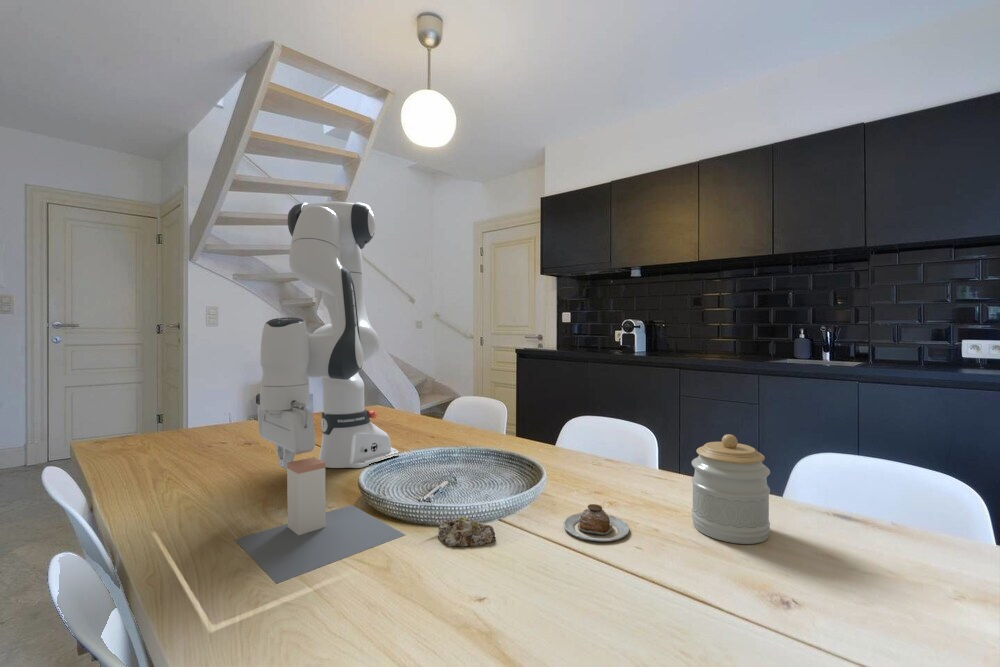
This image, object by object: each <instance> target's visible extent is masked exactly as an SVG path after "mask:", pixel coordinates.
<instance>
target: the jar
mask: <svg viewBox="0 0 1000 667" xmlns="http://www.w3.org/2000/svg"><path fill="white" fill-rule="evenodd" d="M738 441H739V440H738V439H737V437H736V436H735V435H734V434H729V433H728V434H724V435H723V436H722V438H721V441H711V442H706V443H705V444H703V445H702V446H700V447H698V448H697V449H696V453H697V454H698V456H697V457H695V458H693V459H692V460H691V466H692V467H693V468H694V475H693V476H692V477H691V483H692V509H691V520H692V525H693V528H695V529H696V530H697V531H698V532H700V533H701V534H702V535H706V536H707V537H709V538H712V539H715V540H718V541H721V542H722V541H723V542H726V543H732V544H738V545H739V544H741V545H754V544H759V543H762V542H766V540H767V539H769V534H770V531H771V528H770V526H771V522H770V493H771V488H770V487H769V485H768V482H767V478H768V476H769V475H770V474H771V471H770V469H769V467H767V466H766V465H765V464H764V463H763V462H764V461H765V460H766V458H765V455H763V454H762V453H761V452H759V451H758V450H757V449H756V448H754V447H753V446H750V445H748V444H743V443H738Z"/></svg>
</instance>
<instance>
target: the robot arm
mask: <svg viewBox="0 0 1000 667" xmlns="http://www.w3.org/2000/svg"><path fill="white" fill-rule="evenodd" d="M376 224H377V222H376V218H375V215H374V212H373V209H372V208H371V207H370V206H369V205H368V204H366V203H362V202H358V201H356V202H348V201H335V200H333V201H331V200H330V201H327V202H326V201H324V202H322V201H321V202H313V203H308V202H303V203H302V202H301V203H297V204H294V205H293V206H292V207H291V209H290V210H289V211H288V213H287V226H288V227H287V228H288V232H289V234H290V236H291V242H290V248H289V258H288V259H289V267H290V270H291V272H292V273H293V275H294V276H295V277H296V279H298V280H299V281H300V282H301V283H304V284H305V285H307V286H309V287H311V288H312V289H316V290H318V291H321V292H322V294H321V295H322V296H321V298H322V299H321V300H322V303H323V305H324V306H325V307H326V310H327V311H328V314H329V318H330V323H328V324H324V325H322V326H320V327H318V328H317V329H315V330H314V331H313V333H308V330H307V324H306V321H305V319H303V318H300V317H276V318H272V319H269V320H268V321H266V322H265V323H264V325H263V328H262V333H261V341H260V342H261V343H260V367H261V369H262V378H261V381H260V390H259V391H258V392H257V393H256V394H255V395H254V404H255V405H256V406H257V424H258V432H259V436H260V439H261V438H262V439H264V440H266V441H268V442H270V443H271V444H274V445H275V451H276V455H277V458H278V466H279V467H281V468H282V469H284V470H287V463H288V462H293V461H294V458H295V456H296V455H299V454H300V455H301V454H306V453H311V452H313V451H314V449H315V446H316V436H315V434H316V433H315V423H314V422H315V421H314V417H313V414H312V412H310V411H309V410H308V409H307V407H309V406H310V380H309V379H311V378H312V379H319V378H320V379H321V382H322V403H323V404H322V405H323V406H322V407H323V408H322V412H321V422H320V425H321V433H322V435H321V436H322V438H321V444H320V451H319V457H318V459H319V460H321V461H323V462H325V468H327V469H346V468H348V469H349V468H351V469H361V468H364V467H367V466H370V465H369V464H371V463H372V462H374V461H376V460H378V459H380V458H383V457H385V456H388V455H391V454H394V453H398V452H399V450H397V449H396V448H394V447H392V442H391V439H390V436H389V434H388V433H387V432H386V431H384V430H383V429H381V428H380V427H378V426H377V425H376V424H374V423H373V422H372V421H371V419H376V418H377V417H378V412H376V411H375V410H367V409H365V383H364V380H363V379H362V377H361V375H360V374H359V371H361V369H362V368H363V364H364V362H365V361H368V360H371V359H372V358H373V357H375V355H376V354H377V352H378V350H379V347H380V338H379V335H378V333H377V331H376V330H375V329H374V328H373V327H372V324H371V322H370V318H369V317H368V313H367V310H366V309H367V307H366V303H365V292H364V290H365V288H364V287H365V286H364V262H363V255H362V254H363V253H362V249H364V248H365V247H366V245H367V244H369V243H370V242H371V241H372V239H373V237H374V235H375V231H376ZM371 465H372V464H371Z"/></svg>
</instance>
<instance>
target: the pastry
mask: <svg viewBox="0 0 1000 667" xmlns="http://www.w3.org/2000/svg"><path fill="white" fill-rule="evenodd" d="M576 526H577V529H579V531H581V532H584V533H587V534H592V535H598V536H605V535H608V534H610V532H611V531H612V529H613V526H614V528H615V529H616V531H617V532H616V534H614V536H610V537H590V536H587V535H584V534H581V533H579V532H577V530H576ZM563 528H564V529H565V531H566V532H568V533H569V534H570V535H571V536H572V537H575V538H578V539H581V540H583V541H593V542H612V541H614V542H615V541H618V540H622V539H623V538H625V537H626V536H628V535H629V532H630V527H629V525H628V523H627V522H626V521H624V520H623V519H621V518H619V517H616V516H614V515H611V514H608V513H607V512H606V511H605V510H604V509H603V507H602V506H601V505H599V504H588V505H587V508H586V509H584V510H583V511H582V512H579V513H575V514H571V515H569V516H567V518H565V520H564V521H563Z"/></svg>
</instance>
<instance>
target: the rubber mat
mask: <svg viewBox="0 0 1000 667" xmlns="http://www.w3.org/2000/svg"><path fill="white" fill-rule="evenodd" d="M404 536H406V533H404V532H402V531H399V530H398V529H396V528H394V527H392V526H390V525H389V524H387V523H385V522H384V521H382V520H379V519H378V518H376V517H374V516H373V515H370V514H368V513H367V512H365V511H363V510H362V509H360V508H359V507H356V506H354V505H353V504H350V505H346V506H343V507H340V508H336V509H333V510H329V511H326V527H323V528H320V529H317V530H314V531H311V532H308V533H304V534H301V535H297V534H296V533H295V532H294V531H292V530H291V529H290V528H288V523H285V524H282V525H278V526H275V527H272V528H268V529H263V530H262V531H258V532H255V533H254V532H253V533H251V534H248V535H244V536H241V537H238V538H234V541H235V542H236V543H237V544H238V545H239V546H240V547H241V548H242V549H243V550H244V552H245V553H246V554H247V555H249V557H250V558H251V559H252V560H253V561H254V562H255V563H256V564H257V565H258V566H259V567H260V568H261V569H262V570H263V571H264V572H265V574H266V575H267V576H269V578H270V579H271V580H272V581H273V582H274V583H275V584H280V583H282V582H285V581H288V580H290V579H294V578H296V577H298V576H302V575H303V574H307V573H309V572H311V571H314V570H317V569H319V568H321V567H325V566H328V565H330V564H333V563H335V562H338V561H341V560H344V559H346V558H349V557H352V556H354V555H357V554H359V553H362V552H364V551H367V550H370V549H373V548H375V547H378V546H380V545H383V544H386V543H389V542H391V541H394V540H396V539H398V538H402V537H404Z"/></svg>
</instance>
